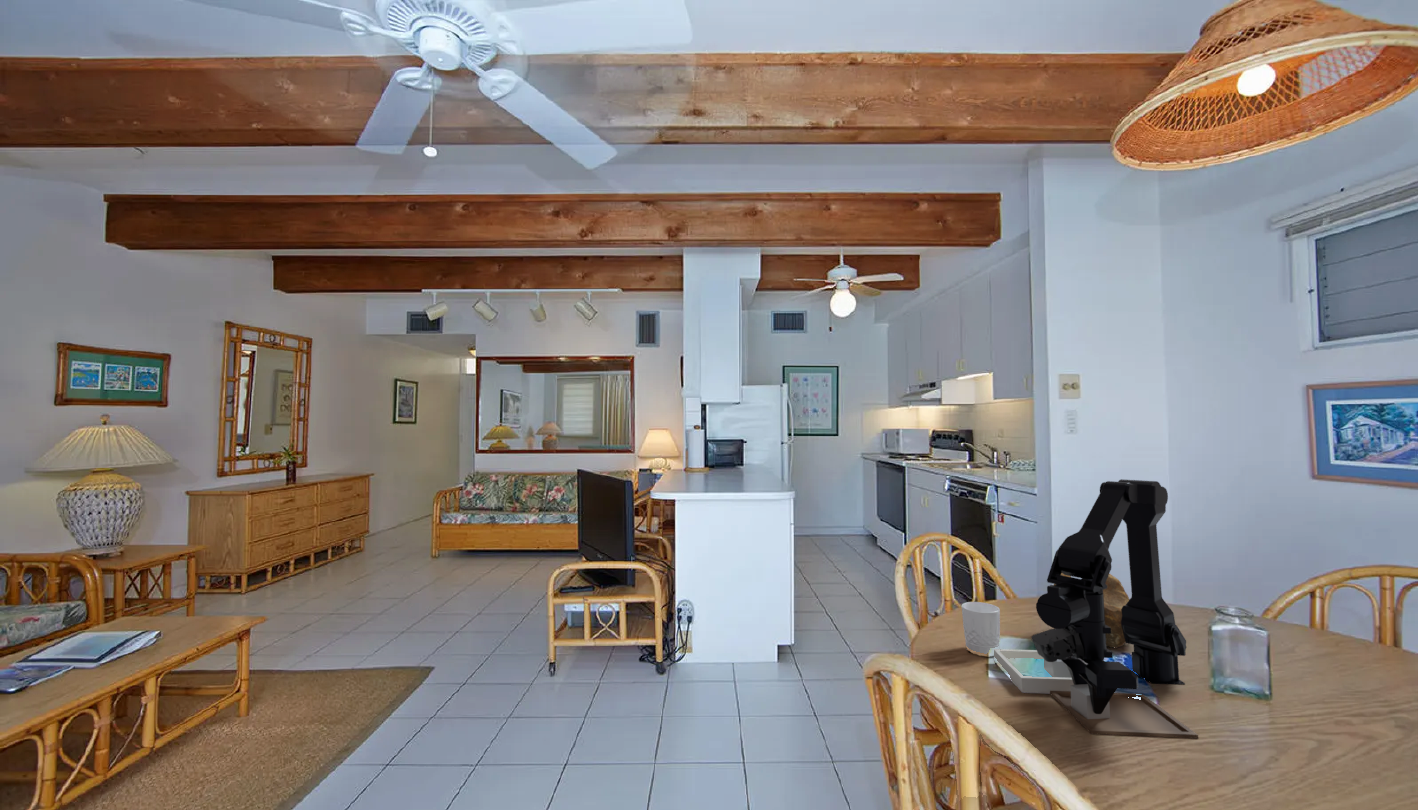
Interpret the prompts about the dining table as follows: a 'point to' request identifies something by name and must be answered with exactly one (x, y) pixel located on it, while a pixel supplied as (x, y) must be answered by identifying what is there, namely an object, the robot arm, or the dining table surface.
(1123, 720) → the walnut tray
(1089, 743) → the dining table surface
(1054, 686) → the cream dish
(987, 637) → the white cup
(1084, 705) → the small grey cuboid
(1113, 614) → the rough brown rock
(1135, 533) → the robot arm
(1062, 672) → the grey block
